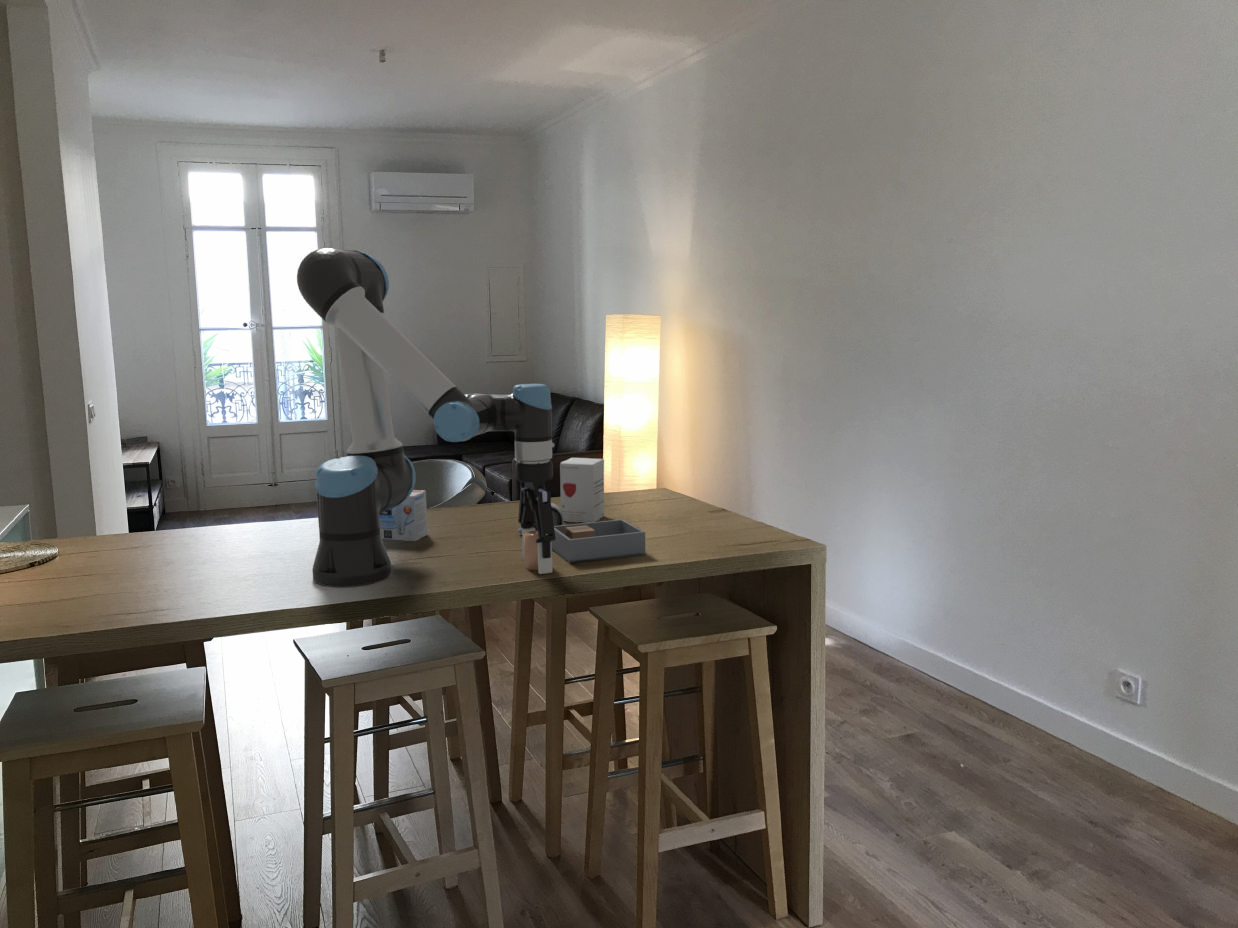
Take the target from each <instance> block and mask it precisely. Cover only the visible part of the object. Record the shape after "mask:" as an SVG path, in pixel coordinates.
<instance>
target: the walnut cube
mask: <svg viewBox="0 0 1238 928" xmlns="http://www.w3.org/2000/svg"><path fill="white" fill-rule="evenodd" d="M565 535H566V536H567V537H568V538H570V539H578V538H587V537H595V530H594V529H592V528H590V527H589V526H587V525H585V526H575V527H565Z"/></svg>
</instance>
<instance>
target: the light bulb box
mask: <svg viewBox="0 0 1238 928" xmlns="http://www.w3.org/2000/svg"><path fill="white" fill-rule="evenodd" d="M427 511H428V510H427V492H426V490H425V489H424V490H423V489H421V490H420V489H419V490H416V489H413V491H412V493H411V494H410V496H409V497H408V498H407V499H406V500H405V501H403V502H402V503H401V504H400V505H398V506H396V507H394V508H392V509H388V510H386V511H384V512H382V513H380V514H379V521H380V536H381V539H382V540H389V541H403V542H404V541H406V542H407V541H408V542H416V541H418V540H420V539H422V538H424V537H426V536H428V534H429V532H428V512H427Z"/></svg>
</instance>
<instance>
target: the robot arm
mask: <svg viewBox="0 0 1238 928" xmlns="http://www.w3.org/2000/svg"><path fill="white" fill-rule="evenodd" d="M296 283H297V286H298V290H299V293H300V295H301V296H302V298H303V300H304V301H305V302H306V303H307V305H309V307H310V308H311V310H313V311H314V312H315V313H316V314H317V315H318V316H319V317H320V318H321V320H323V321H324V322H325V323H326V324H327V325H330V326H333V327H334V328H335V333H336V341H337V346H338V348H337V349H338V354H339V360H340V366H341V372H342V379H343V386H344V387H343V388H344V393H345V400H346V407H347V408H346V409H347V415H348V420H349V421H348V422H349V425H350V426H349V427H350V433H351V440H352V442H351V444H350V445H349V447H348V448H347V450H346V451H345V452H346V456H341V457H339V458H331V459H329V460H327V461H324V462H323V463H321V464H320V465H319V466H318V467H317V468H316V471H315V483H314V487H315V492H316V493H315V494H316V505H317V506H316V507H317V518H318V520H317V521H318V522H317V523H318V533H319V534H318V535H319V543H318V546H317V549H316V550H317V551H316V554H315V559H314V561H313V565H312V569H311V570H312V580H313V581H314V583H316V584H318V585H321V586H327V587H355V586H361V585H362V586H363V585H368V584H373V583H376V582H380V581H382V580H385V579H387V578H389V577H390V576H391V575H392V563H391V559H390V556H389V554H388V552H387V550H386V546H385V545H384V542H383V539H381V536H380V521H379V514H380V513H382V512H384V511H386V510H388V509H392V508H394V507H396V506H398V505H400V504H401V503H402V502H403V501H405V500H406V499H407V498H408V497H409V496H410V494H411V493H412V491H413V490H415V489H414V488H415V485H416V477H417V476H416V470H415V467H414V464H413V462H412V461H411V460H410V459H409V458H408V457H407V455H405V451H404V445H403V442H401V441H400V440H398V439H397V438H396V437H395V432H394V425H393V420H392V413H391V406H390V397H389V390H388V386H387V385H388V384H387V383H388V382H387V377H386V375H387V376H388V377H389V378H391V380H393V381H394V382H395V383H396V384H397V385H398V386H399V387H400V388H401V389H402V390H403V391H404V392H405V393H406V394H407V395H408V396H409V397H410V398H411V399H412V400H413V401H414V402H415V403H416V404H418V407H420V408H421V409H422V410H423V411H424V412H425V413H426V414H428V415H429V416H430V418H432V420H433V426H434V429H435V431H436V433H437V435H438V436H439V437H440V438H441V439H443V440H444V441H446V442H451V443H458V442H466V441H469V440H471V439H472V438H474V437H477V436H479V435H482V434H485V433H487V432H514V458H515V460H516V463H515V478H516V480H517V481H519V490H520V492H519V503H518V504H519V507H518V519H517V521H518V524H520V527H521V528H523V529H522V536H521V546H522V549H521V550H522V551H521V552H522V560H524V533H525V532H529V531H535V528H531V527H536V526H537V531H538V536H539V539H537V540H536V543H538V570H537V573H538V574H539V575H542V574H543V575H544V574H551V573H553V550H552V541H553V540H555V538H556V537H555V531H554V523H553V515H552V507H551V503H552V497H551V496H552V495H551V494H552V493H551V490H547V489H546V485H545V483H546V482H549V481H551V480H552V479H553V478H554V463H553V462H552V458H553V448H555V443H554V442H553V436H552V434H553V433H552V432H553V431H552V430H553V429H552V428H553V426H552V425H553V424H552V421H553V419H552V409H553V404H552V398H551V390H550V387H549V386H548V385H547V384H544V383H520V384H516V385H514V386H513V388H512V393H507V394H504V393H502V394H501V393H500V394H499V393H498V394H497V393H496V394H495V393H492V394H491V393H478V392H477V393H476V392H474V393H468V394H467V393H463V392H462V391H461V390H460V389H459V388H458V387H457V385H455V384H454V383H453V381H451V380H450V379H449V378H448V377H447V376H446V375H445V374H444V373H443V372H442V370H440V369H439V368H438V367H437V366H436V365H435V364H434V363H433V362H432V361H431V360H430V359H428V357H427V356H426V355H424V353H422V351H420V350H419V349H418V348H417V346H415V344H414V343H412V341H410V340H409V339H408V338H407V337H406V336H405V335H404V334H403V332H401V331H400V329H398V328H397V327H396V326H395V325H394V324H393V323H392V322H390V320H388V319H387V317H386V316H385V310H384V304H383V303H384V301H385V298H386V296H387V295H388V293H389V288H390V282H389V275H388V272H387V271H386V269H385V267H384V265H383V264H382V263H381V262H380V261H379V260H378V259H377V258H376V257H375V256H373V255H370V254H368V253H366V252H362V251H360V250H355V249H354V250H349V249H336V248H330V247H324V248H322V247H321V248H318V249H316V250H313V251H310V252H309V253H308V254H307V255H306V256H304V258H302V260H301V262H300V263H299V266H298V269H297V275H296ZM534 519H535V521H536V523H535V522H534ZM546 534H548V535H546Z"/></svg>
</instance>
